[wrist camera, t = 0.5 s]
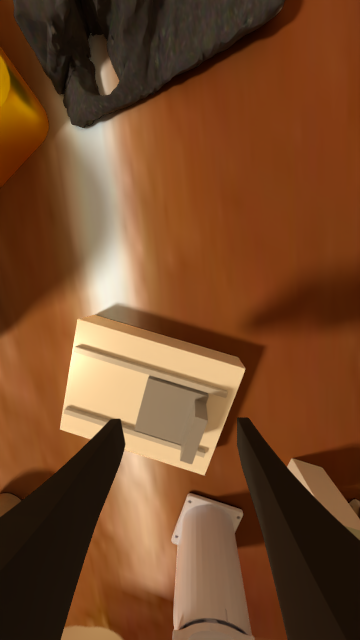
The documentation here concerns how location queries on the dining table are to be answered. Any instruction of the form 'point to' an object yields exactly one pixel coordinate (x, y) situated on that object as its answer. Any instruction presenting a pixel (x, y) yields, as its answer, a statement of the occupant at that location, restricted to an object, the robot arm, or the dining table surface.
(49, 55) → the dark slate chunk
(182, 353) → the socket
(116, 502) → the dining table surface
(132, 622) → the dining table surface
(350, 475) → the dining table surface
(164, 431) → the shutter
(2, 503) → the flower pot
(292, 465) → the plug
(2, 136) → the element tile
